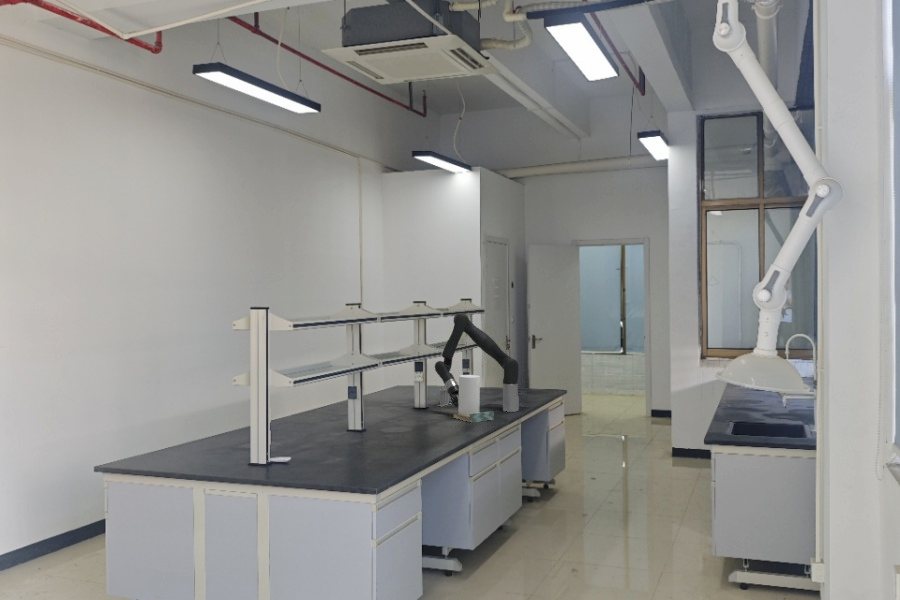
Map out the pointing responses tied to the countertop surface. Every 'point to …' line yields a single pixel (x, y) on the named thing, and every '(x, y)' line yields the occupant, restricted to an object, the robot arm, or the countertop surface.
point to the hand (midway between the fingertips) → (464, 410)
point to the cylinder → (469, 394)
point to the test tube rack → (444, 396)
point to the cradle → (476, 416)
